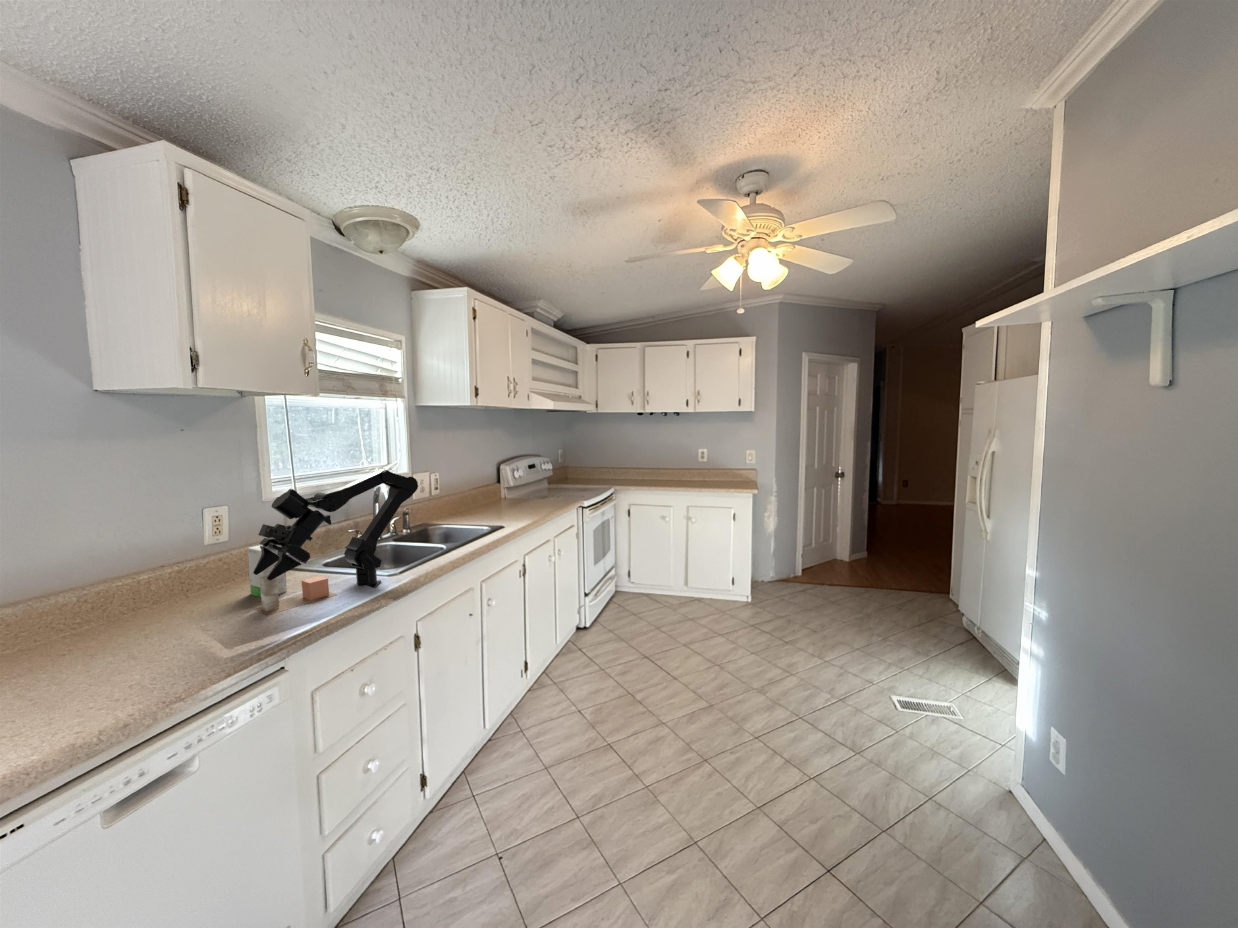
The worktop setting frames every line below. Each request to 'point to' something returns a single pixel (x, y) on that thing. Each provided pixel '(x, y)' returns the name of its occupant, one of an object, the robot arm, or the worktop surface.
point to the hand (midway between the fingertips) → (261, 576)
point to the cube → (315, 587)
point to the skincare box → (262, 573)
